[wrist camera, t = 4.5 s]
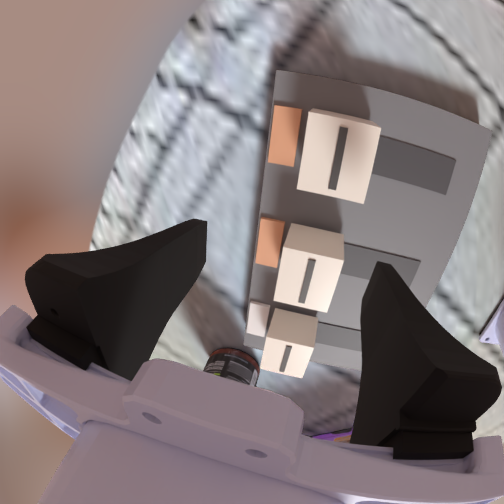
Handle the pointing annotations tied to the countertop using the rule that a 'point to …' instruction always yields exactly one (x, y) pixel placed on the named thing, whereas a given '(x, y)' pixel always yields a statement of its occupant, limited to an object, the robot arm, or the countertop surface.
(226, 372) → the supplement bottle
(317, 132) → the slotted white cube
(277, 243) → the panel
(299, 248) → the knob
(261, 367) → the knob
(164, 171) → the countertop surface
